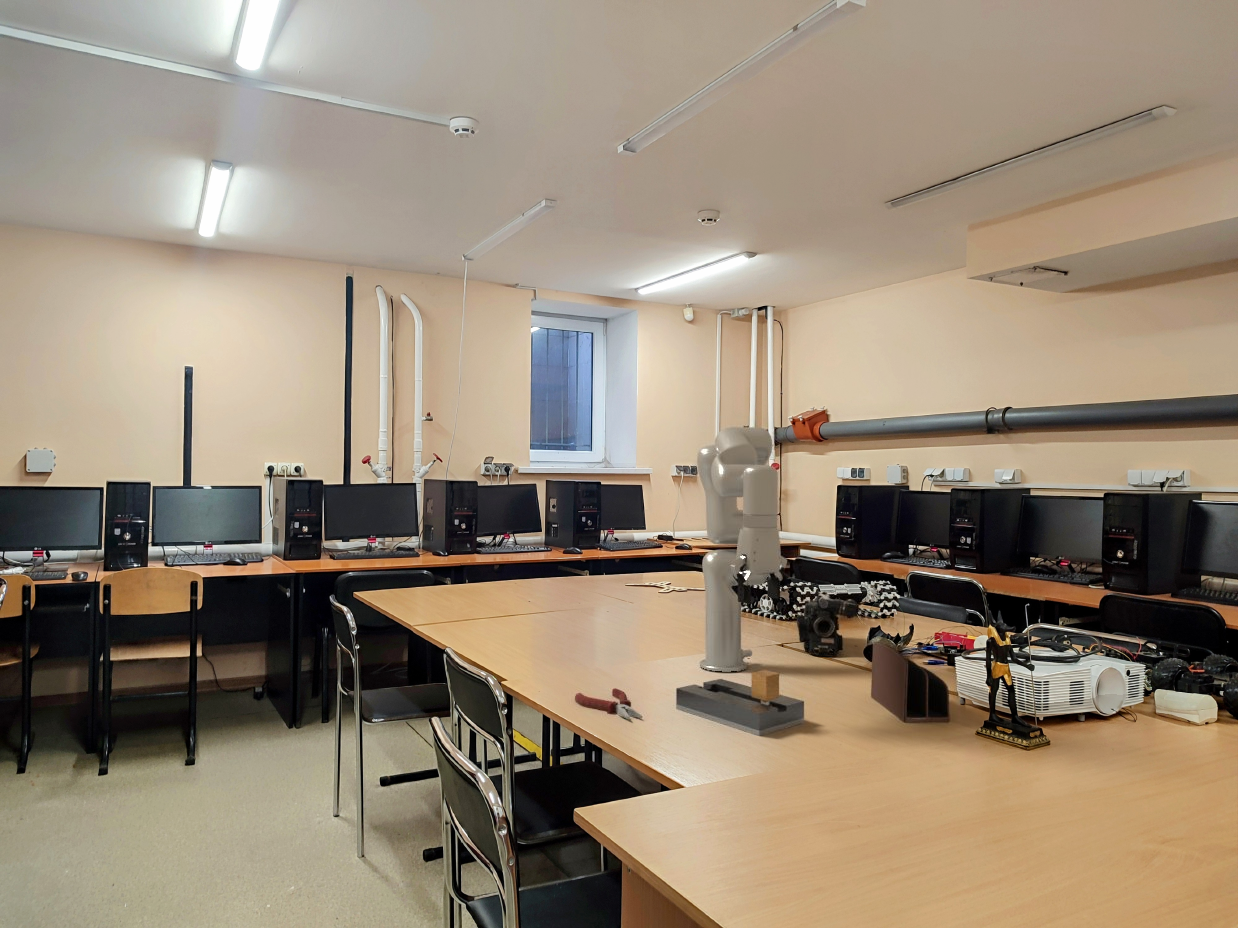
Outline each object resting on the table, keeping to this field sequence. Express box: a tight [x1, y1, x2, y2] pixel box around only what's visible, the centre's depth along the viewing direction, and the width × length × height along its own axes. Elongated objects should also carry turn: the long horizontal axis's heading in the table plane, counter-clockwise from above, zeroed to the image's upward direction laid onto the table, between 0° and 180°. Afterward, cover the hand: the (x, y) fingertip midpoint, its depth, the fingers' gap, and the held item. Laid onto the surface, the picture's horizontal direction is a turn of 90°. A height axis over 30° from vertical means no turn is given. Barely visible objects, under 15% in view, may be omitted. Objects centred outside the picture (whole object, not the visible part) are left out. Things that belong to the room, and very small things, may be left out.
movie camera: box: [796, 591, 860, 657], centre depth 245 cm, size 31×18×18 cm, turn 166°
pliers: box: [574, 688, 643, 721], centre depth 179 cm, size 11×20×3 cm, turn 27°
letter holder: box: [870, 641, 951, 724], centre depth 180 cm, size 10×20×14 cm, turn 2°
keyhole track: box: [675, 678, 805, 737], centre depth 174 cm, size 14×24×4 cm, turn 39°
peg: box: [750, 669, 780, 706], centre depth 169 cm, size 4×4×10 cm
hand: (759, 600), depth 178 cm, fingers open, 9 cm apart
